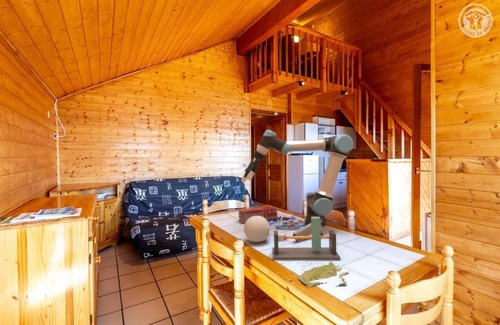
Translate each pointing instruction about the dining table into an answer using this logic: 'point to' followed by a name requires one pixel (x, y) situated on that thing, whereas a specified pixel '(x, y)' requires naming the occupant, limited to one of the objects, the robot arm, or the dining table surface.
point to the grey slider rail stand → (305, 249)
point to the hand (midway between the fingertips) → (245, 180)
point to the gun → (306, 230)
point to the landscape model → (321, 274)
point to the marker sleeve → (316, 233)
